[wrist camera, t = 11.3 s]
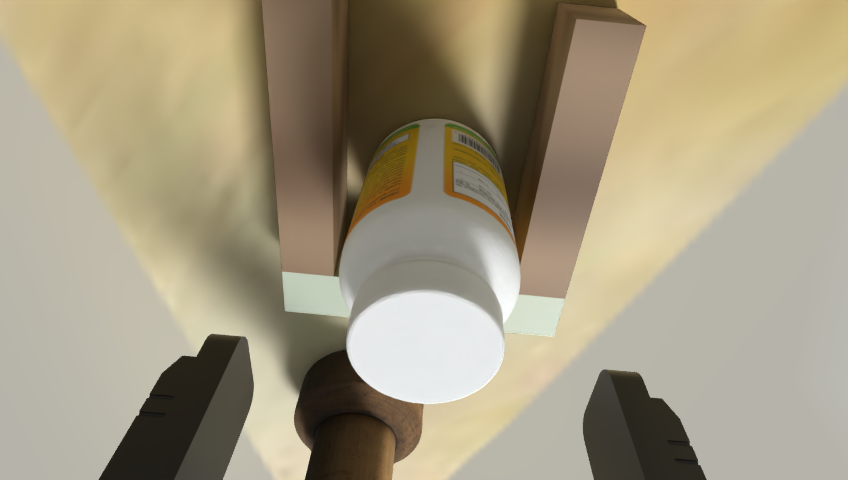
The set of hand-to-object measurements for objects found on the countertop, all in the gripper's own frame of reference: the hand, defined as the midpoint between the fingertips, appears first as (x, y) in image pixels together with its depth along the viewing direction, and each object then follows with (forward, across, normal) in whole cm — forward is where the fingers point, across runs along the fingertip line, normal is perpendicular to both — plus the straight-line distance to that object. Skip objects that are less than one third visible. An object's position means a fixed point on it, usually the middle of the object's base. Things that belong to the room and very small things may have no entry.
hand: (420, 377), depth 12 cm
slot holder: (+11, 0, -2) cm, 11 cm away
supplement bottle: (+11, 0, 0) cm, 11 cm away
